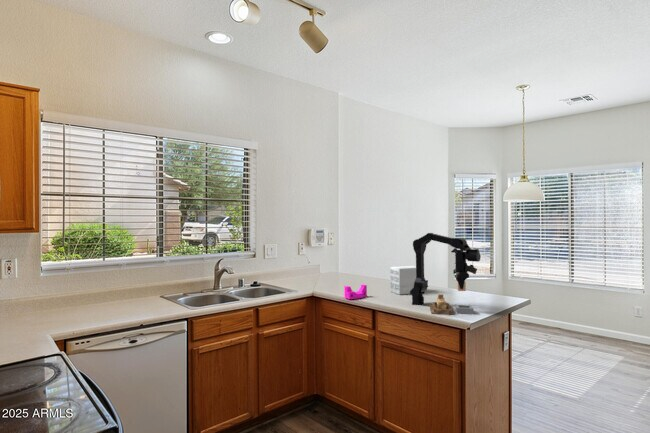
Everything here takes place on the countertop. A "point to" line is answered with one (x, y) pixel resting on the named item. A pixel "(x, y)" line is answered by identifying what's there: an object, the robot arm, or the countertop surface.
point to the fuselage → (441, 302)
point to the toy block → (354, 295)
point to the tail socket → (464, 309)
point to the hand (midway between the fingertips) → (461, 288)
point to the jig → (441, 311)
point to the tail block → (463, 287)
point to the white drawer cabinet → (402, 279)
